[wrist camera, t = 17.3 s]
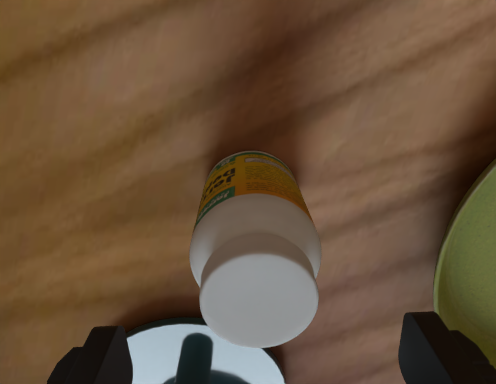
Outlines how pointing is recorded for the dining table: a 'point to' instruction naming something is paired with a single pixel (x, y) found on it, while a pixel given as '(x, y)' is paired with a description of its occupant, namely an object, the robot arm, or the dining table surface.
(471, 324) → the saucer
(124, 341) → the robot arm
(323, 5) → the dining table surface
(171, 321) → the lid
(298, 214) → the supplement bottle
